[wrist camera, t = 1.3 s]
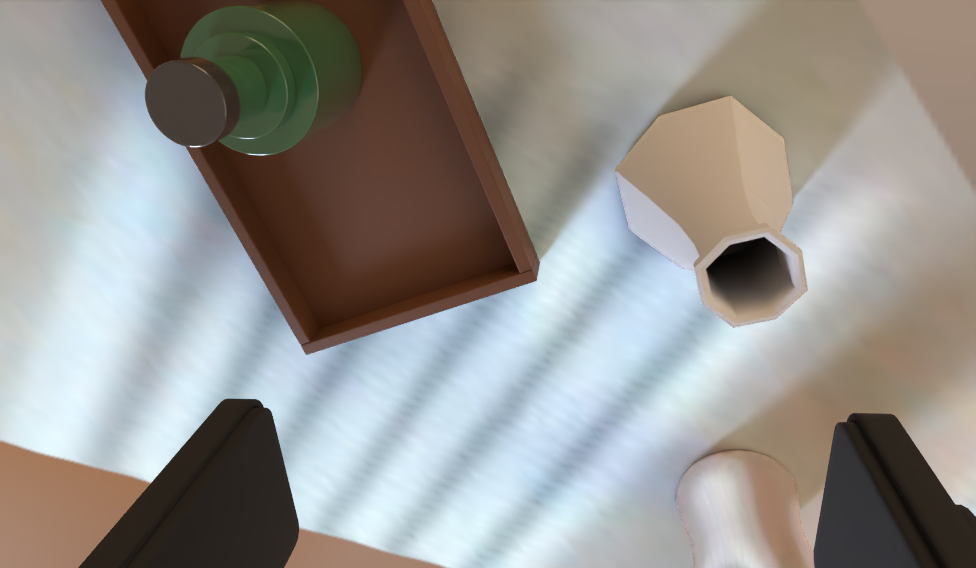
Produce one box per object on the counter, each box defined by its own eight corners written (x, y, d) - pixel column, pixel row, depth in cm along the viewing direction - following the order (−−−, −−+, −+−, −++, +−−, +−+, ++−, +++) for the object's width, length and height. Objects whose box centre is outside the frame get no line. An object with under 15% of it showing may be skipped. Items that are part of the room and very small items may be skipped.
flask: (670, 288, 31) (701, 416, 22) (585, 162, 30) (582, 246, 21) (821, 206, 29) (925, 313, 20) (739, 62, 27) (812, 108, 18)
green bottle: (327, -23, 27) (207, -18, 19) (383, 100, 29) (298, 154, 21) (223, 29, 29) (70, 55, 20) (283, 143, 30) (164, 210, 22)
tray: (66, -118, 28) (28, -124, 26) (318, -276, 24) (294, -296, 22) (321, 335, 35) (305, 355, 33) (540, 262, 32) (537, 281, 30)
